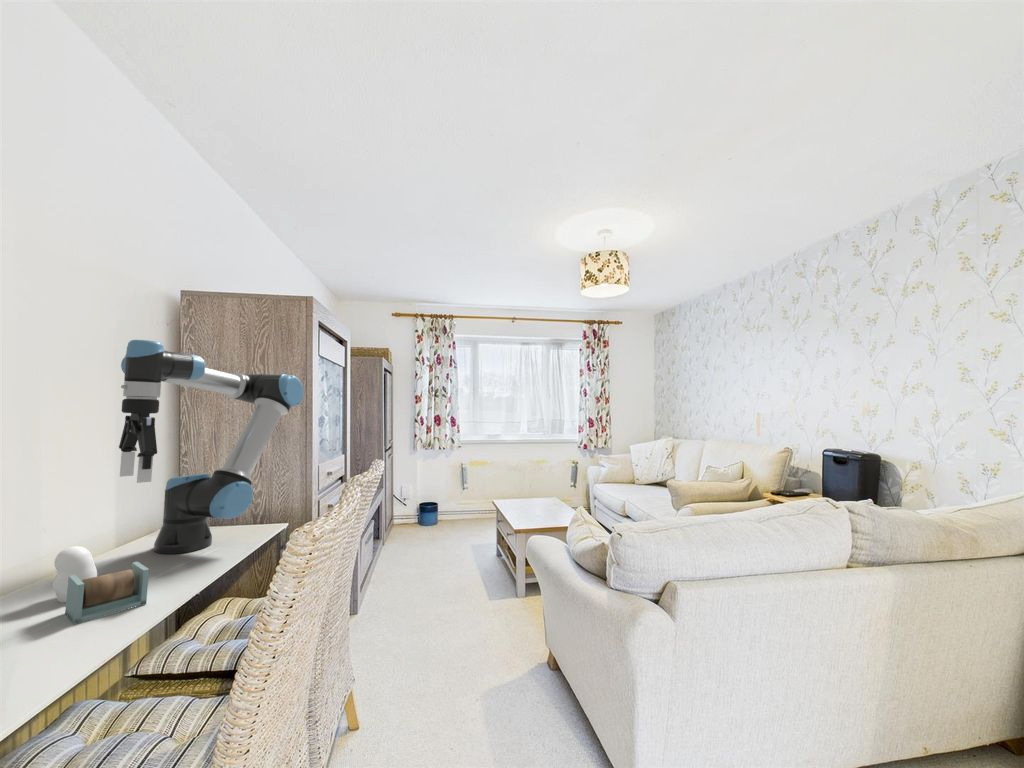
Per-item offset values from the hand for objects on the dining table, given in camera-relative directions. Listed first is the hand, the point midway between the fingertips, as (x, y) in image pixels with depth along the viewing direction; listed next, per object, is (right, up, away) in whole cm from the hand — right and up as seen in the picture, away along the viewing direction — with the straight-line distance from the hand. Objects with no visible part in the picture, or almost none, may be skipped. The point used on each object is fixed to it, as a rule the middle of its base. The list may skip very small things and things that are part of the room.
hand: (134, 479), depth 114 cm
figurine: (-5, -26, -11) cm, 29 cm away
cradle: (+7, -26, -16) cm, 31 cm away
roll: (+7, -21, -16) cm, 28 cm away
